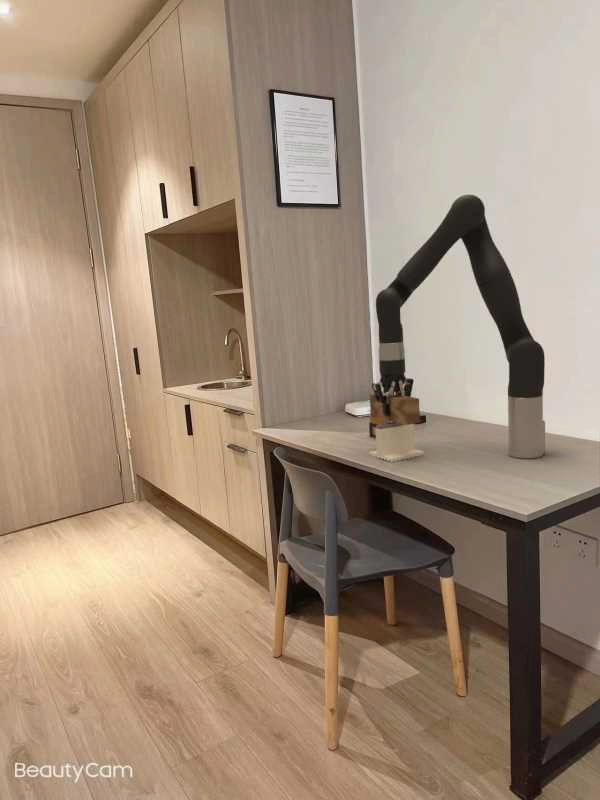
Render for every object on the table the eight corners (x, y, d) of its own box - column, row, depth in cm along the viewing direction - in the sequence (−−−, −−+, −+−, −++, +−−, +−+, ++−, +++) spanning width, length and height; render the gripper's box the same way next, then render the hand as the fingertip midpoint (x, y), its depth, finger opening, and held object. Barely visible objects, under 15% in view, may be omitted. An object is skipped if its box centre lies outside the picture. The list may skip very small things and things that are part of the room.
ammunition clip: (369, 436, 211) (367, 402, 209) (373, 436, 212) (372, 401, 210) (388, 442, 202) (387, 406, 200) (393, 441, 203) (391, 405, 201)
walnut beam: (419, 422, 177) (419, 398, 175) (407, 424, 174) (406, 400, 173) (382, 414, 192) (381, 392, 191) (370, 416, 190) (369, 394, 189)
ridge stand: (400, 448, 193) (399, 416, 191) (423, 454, 183) (422, 422, 182) (369, 455, 187) (367, 422, 186) (390, 462, 178) (389, 428, 176)
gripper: (379, 361, 174) (382, 420, 177) (419, 355, 180) (421, 413, 183) (364, 359, 180) (367, 416, 183) (403, 354, 187) (405, 409, 190)
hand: (394, 414), depth 183 cm, fingers closed on walnut beam, 4 cm apart
